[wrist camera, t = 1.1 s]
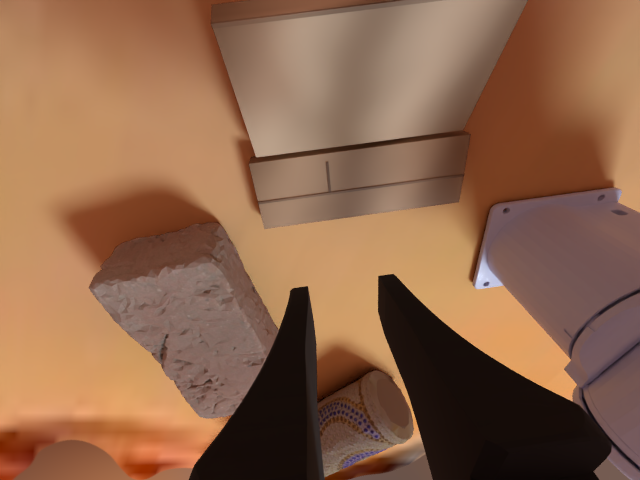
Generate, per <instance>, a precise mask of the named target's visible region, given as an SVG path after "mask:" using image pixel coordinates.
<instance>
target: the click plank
mask: <svg viewBox="0 0 640 480" xmlns="http://www.w3.org/2000/svg"><path fill="white" fill-rule="evenodd" d="M527 1H528V0H247V1H239V2H230V3H222V4H214V5H212V11H211V25H212V28H213V30H214V33H215V36H216V39H217V42H218V45H219V48H220V51H221V54H222V57H223V60H224V63H225V66H226V69H227V72H228V75H229V78H230V81H231V84H232V87H233V90H234V93H235V96H236V99H237V101H238V104H239V107H240V110H241V113H242V116H243V119H244V122H245V125H246V128H247V131H248V134H249V137H250V140H251V143H252V146H253V149H254V152H255V155H256V157H264V156H271V155H279V154H286V153H294V152H301V151H309V150H316V149H324V148H332V147H339V146H347V145H354V144H362V143H369V142H377V141H384V140H392V139H399V138H407V137H414V136H422V135H430V134H437V133H445V132H452V131H460V130H463V129H464V127H465V125H466V123H467V121H468V119H469V117H470V115H471V113H472V111H473V109H474V107H475V105H476V103H477V101H478V99H479V97H480V95H481V93H482V91H483V89H484V87H485V85H486V83H487V81H488V79H489V77H490V75H491V73H492V71H493V69H494V67H495V65H496V63H497V61H498V59H499V57H500V55H501V53H502V51H503V49H504V47H505V45H506V43H507V41H508V39H509V37H510V35H511V33H512V31H513V29H514V27H515V25H516V23H517V21H518V19H519V17H520V15H521V13H522V11H523V9H524V7H525V5H526V3H527Z"/></svg>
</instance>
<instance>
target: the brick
mask: <svg viewBox="0 0 640 480" xmlns="http://www.w3.org/2000/svg"><path fill="white" fill-rule="evenodd" d="M101 268H102V270H101V271H99V272H98V273H97V274H96V275H95V276H94V277H93V280H92V282H91V284H90V286H89V289H90V290H91V292H92V293H93V295H94V296H95V297H96V299H97V300H98V301H99V302H100V303H101V304H102V305H103V307H104V308H105V310H106V311H107V312H108V313H109V314H110V315H111V317H112V318H113V320H114V321H115V322H116V323H118V324H119V325H120V326H121V328H122V329H123V330H125V331H126V332H127V333H128V334H129V335H130V336H131V337H132V338H133V339H134V340H136V341H137V342H138V343H139V344H140V345H141V346H142V347H144V348H145V349H146V350H147V351H149V352H151V353H152V355H153V357H154V358H155V359H156V360H157V361H158V362H159V363H160V364H161V365H162V368H163V370H164V372H165V374H166V376H168V377H169V378H170V380H174V382H175V384H176V386H177V388H178V389H179V390H180V391H181V394H182V396H183V397H184V398H185V400H186V401H187V402H188V403H189V404H190V406H191V407H192V408H193V410H194V411H195V412H196V413H197V414H198V415H199V416H200V417H203V418H218V417H226V416H229V415H233V413H234V412H235V411H236V409H237V408H238V406H239V405H240V403H241V402H242V400H243V399H244V397H245V396H246V394H247V392H248V391H249V389H250V387H251V386H252V384H253V382H254V380H255V379H256V377H257V375H258V374H259V372H260V370H261V368H262V366H263V364H264V362H265V360H266V358H267V356H268V354H269V352H270V350H271V348H272V345H273V343H274V341H275V338H276V336H277V334H278V331H279V330H278V328H277V327H276V326H275V324H274V322H273V320H272V318H271V316H270V314H269V313H268V310H267V308H266V306H265V305H264V304H263V302H262V299H261V297H260V296H259V294H258V293H257V291H256V290H255V287H254V285H253V283H252V281H251V279H250V277H249V276H248V274H247V273H246V271H245V270H244V266H243V263H242V261H241V260H240V257H239V255H238V252H237V250H236V248H235V247H234V245H233V244H232V242H231V241H230V239H229V236H228V235H227V233H226V232H225V230H224V229H223V227H222V226H221V225H220V224H218V223H211V222H210V223H205V224H193V225H191V226H189V227H186V228H185V229H180V230H179V231H178V232H172V233H165V234H162V235H160V236H158V235H154V236H150V237H141V238H135V239H133V240H131V241H127V242H123V243H121V244H120V245H119V246H117V247H116V248H115V249H114V251H113V253H112V255H111V256H110V257H109V258H108V259H106V261H105V262H104V263H103V264H102V265H101Z"/></svg>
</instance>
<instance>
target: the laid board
mask: <svg viewBox="0 0 640 480" xmlns="http://www.w3.org/2000/svg"><path fill="white" fill-rule="evenodd" d="M470 135H471V134H469V133H467V132H465V131H463V130H460V131H452V132H445V133H437V134H430V135H422V136H414V137H407V138H399V139H392V140H384V141H377V142H369V143H362V144H354V145H347V146H339V147H332V148H324V149H316V150H309V151H301V152H294V153H286V154H279V155H271V156H264V157H251V159H250V162H249V167H250V171H251V175H252V179H253V183H254V187H255V192H256V196H257V200H258V204H259V208H260V212H261V216H262V220H263V225H264V229H268V228H275V227H283V226H290V225H297V224H304V223H311V222H319V221H326V220H333V219H340V218H348V217H355V216H362V215H369V214H377V213H384V212H391V211H398V210H406V209H413V208H420V207H427V206H435V205H442V204H449V203H456V202H459V200H460V194H461V188H462V182H463V176H464V170H465V164H466V159H467V153H468V147H469V141H470Z"/></svg>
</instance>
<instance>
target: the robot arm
mask: <svg viewBox="0 0 640 480" xmlns="http://www.w3.org/2000/svg"><path fill="white" fill-rule="evenodd" d="M621 193H622V192H621V190H620V189H618V188H606V189H599V190H592V191H585V192H578V193H570V194H563V195H556V196H549V197H542V198H534V199H527V200H520V201H513V202H505V203H498V204H495V205H494V206H493V207H492V208H491V209H490V213H489V217H488V221H487V225H486V229H485V233H484V238H483V242H482V246H481V250H480V254H479V259H478V263H477V267H476V271H475V275H474V279H473V286H474V287H475V288H476V289H483V288H490V287H496V286H503V285H504V286H505V287H506V288H507V290H508V291H509V292H510V293H511V294H512V295H513V296H514V297H515V298H516V299H517V301H518V302H519V303H520V304H521V305H522V306H523V307H524V308H525V309H526V310H527V312H528V313H529V314H530V315H531V316H532V317H533V318H534V319H535V320H536V321H537V323H538V324H539V325H540V326H541V327H542V328H543V329H544V330H545V331H546V333H547V334H548V335H549V336H550V337H551V338H552V339H553V340H554V341H555V342H556V344H557V345H558V346H559V347H560V348H561V349H562V350H563V351H564V352H565V353H566V355H567V356H568V357H569V358H570V359H571V361H570V362H569V364H568V365H567V366H566V367H565V368H564V370H565V371H566V372H567V373H568V374H569V376H570V377H571V378H572V379H573V380H574V381H575V383H576V384H577V386H576V387H575V389H574V390H573V395H572V397H573V402H572V401H570V400H568V399H566V398H564V397H562V396H560V395H558V394H556V393H554V392H552V391H550V390H548V389H546V388H544V387H542V386H540V385H538V384H536V383H534V382H532V381H530V380H529V379H527V378H525V377H523V376H521V375H520V374H518V373H516V372H514V371H513V370H511V369H509V368H508V367H506V366H504V365H503V364H501V363H500V362H498V361H496V360H495V359H493V358H491V357H490V356H488V355H487V354H485V353H484V352H482V351H481V350H479V349H478V348H476V347H475V346H473V345H472V344H471V343H469V342H468V341H467V340H465V339H464V338H462V337H461V336H460V335H459V334H457V333H456V332H455V331H453V330H452V329H451V328H450V327H448V326H447V325H446V324H445V323H444V322H443V321H441V320H440V319H439V318H438V317H437V316H436V315H434V314H433V313H432V312H431V311H430V310H429V309H428V308H427V307H426V306H425V305H424V304H423V303H421V302H420V301H419V300H418V299H417V298H416V297H415V296H414V295H413V294H412V293H411V292H410V291H409V290H408V289H407V287H406V286H405V285H404V284H403V283H402V282H401V281H400V280H399V279H398V278H397V277H396V276H395V275H394V274H390V275H383V276H378V313H379V316H380V320H381V324H382V327H383V331H384V334H385V337H386V339H387V342H388V344H389V347H390V349H391V352H392V354H393V357H394V359H395V362H396V364H397V367H398V369H399V372H400V374H401V377H402V379H403V382H404V384H405V387H406V389H407V392H408V395H409V398H410V401H411V404H412V408H413V411H414V414H415V418H416V421H417V424H418V428H419V431H420V435H421V438H422V442H423V445H424V449H425V452H426V456H427V460H428V463H429V466H430V470H431V474H432V478H433V480H599V479H598V477H597V476H596V475H595V473H594V472H593V471H594V470H595V469H596V468H597V467H598V466H599V465H600V464H601V463H602V462H603V461H604V460H605V459H606V458H608V460H609V461H610V462H611V463H612V464H613V465H614V466H615V467H616V468H618V469H619V470H620V471H621V472H622V473H623V474H624V475H625V476H627V477H628V478H629V479H630V480H640V213H639V212H637V211H635V210H633V209H631V208H628V207H626V206H624V205H622V204H620V203H618V200H619V198H620V196H621ZM505 208H506V210H505V211H503V210H504V209H505ZM189 480H325V479H324V469H323V459H322V449H321V440H320V430H319V419H318V407H317V357H316V337H315V328H314V320H313V314H312V308H311V302H310V296H309V291H308V286H306V287H299V288H293V289H292V290H291V291H290V297H289V301H288V305H287V308H286V312H285V315H284V318H283V320H282V323H281V326H280V329H279V331H278V334H277V336H276V338H275V341H274V343H273V345H272V348H271V350H270V352H269V354H268V356H267V358H266V360H265V362H264V364H263V366H262V368H261V370H260V372H259V374H258V375H257V377H256V379H255V380H254V382H253V384H252V386H251V387H250V389H249V391H248V392H247V394H246V396H245V397H244V399H243V400H242V402H241V403H240V405H239V406H238V408H237V409H236V411H235V412H234V413H233V415H232V416H231V418H230V419H229V421H228V422H227V423H226V425H225V426H224V428H223V429H222V430H221V432H220V433H219V434H218V436H217V437H216V438H215V440H214V441H213V442H212V443H211V445H210V446H209V447H208V448H207V450H206V451H205V452H204V453H203V455H202V456H201V457H200V459H199V460H198V461H197V462H196V464H195V465H194V467H193V470H192V473H191V476H190V478H189Z"/></svg>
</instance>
